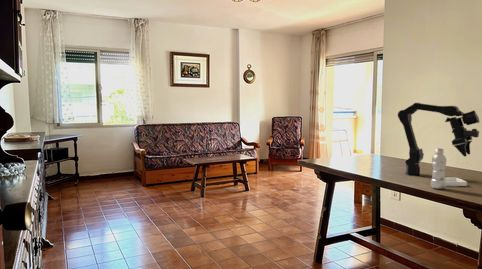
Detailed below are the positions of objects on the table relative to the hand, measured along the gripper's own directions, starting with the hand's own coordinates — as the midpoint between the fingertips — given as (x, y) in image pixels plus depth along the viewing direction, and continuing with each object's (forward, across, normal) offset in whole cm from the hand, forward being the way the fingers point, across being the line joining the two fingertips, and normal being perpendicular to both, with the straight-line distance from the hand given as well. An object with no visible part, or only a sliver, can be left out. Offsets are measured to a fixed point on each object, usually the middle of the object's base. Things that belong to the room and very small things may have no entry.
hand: (467, 155), depth 189 cm
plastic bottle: (+11, -28, +11) cm, 32 cm away
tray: (+12, -14, +9) cm, 20 cm away
